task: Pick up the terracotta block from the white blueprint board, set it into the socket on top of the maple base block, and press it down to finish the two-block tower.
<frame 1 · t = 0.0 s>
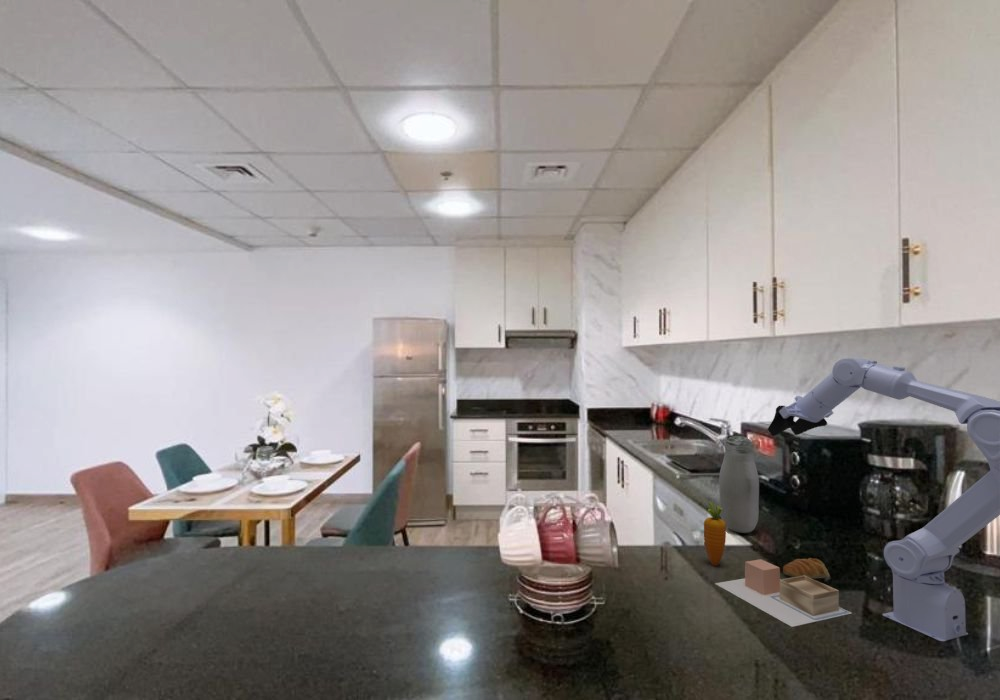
hand: (782, 431, 114), 32 cm above the counter, tool tilted 50°, fingers open, 7 cm apart
glass bottle: (739, 532, 137), on the counter
carrot: (714, 567, 111), on the counter
blueprint board: (779, 600, 95), on the counter
pastry: (806, 577, 107), on the counter
maple base block: (808, 604, 92), point 1 cm above the counter, touching blueprint board
terracotta block: (762, 588, 99), point 1 cm above the counter, touching blueprint board
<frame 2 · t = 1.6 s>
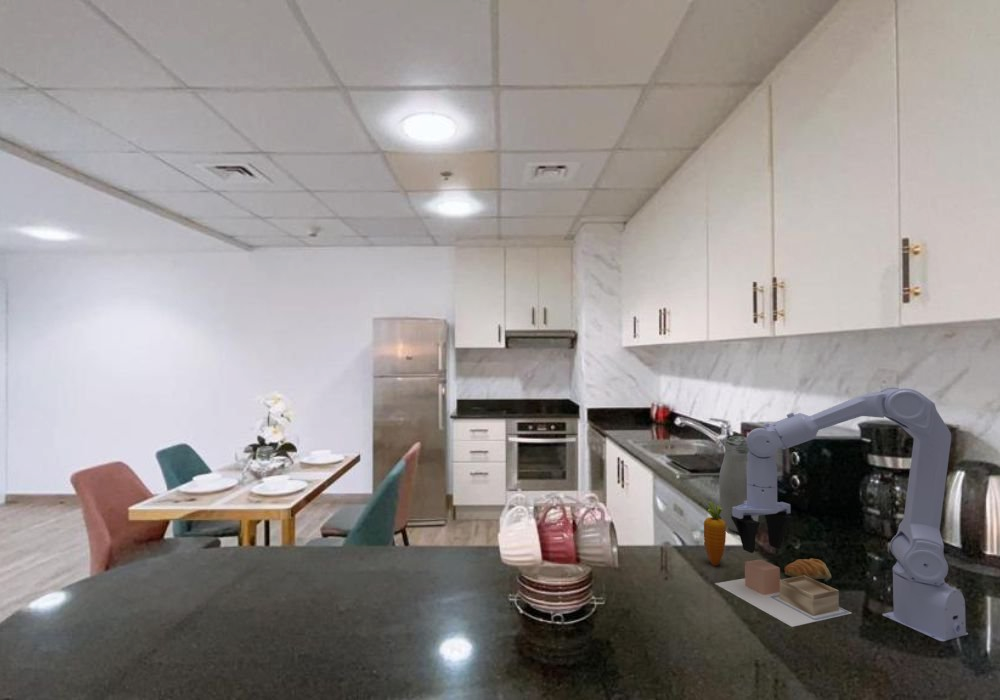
hand: (761, 549, 99), 9 cm above the counter, tool pointing down, fingers open, 7 cm apart
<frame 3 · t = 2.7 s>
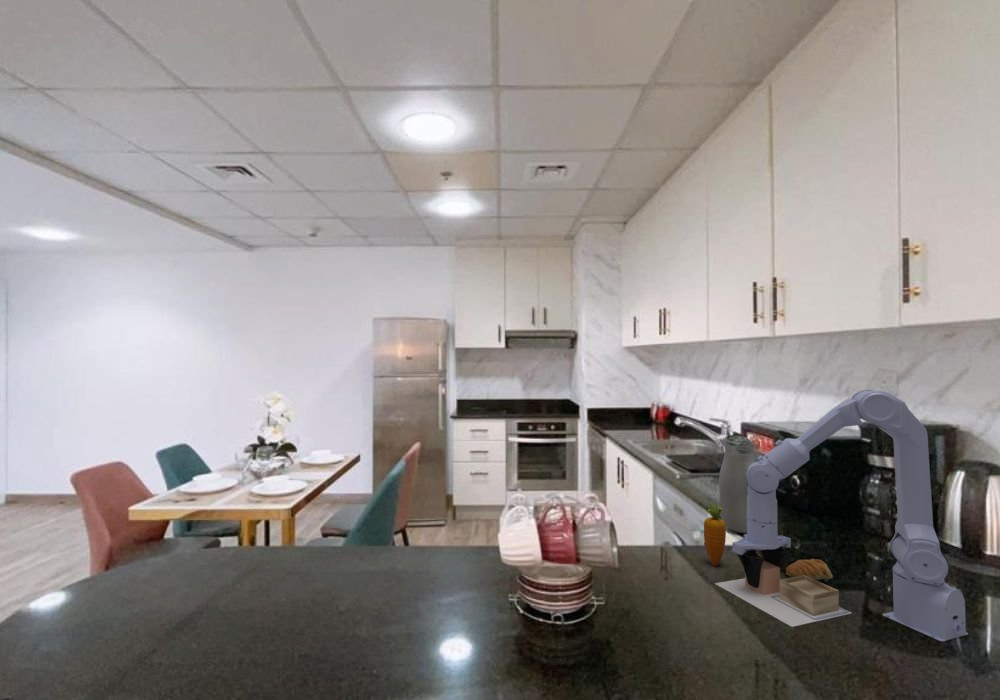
hand: (762, 584, 99), 2 cm above the counter, tool pointing down, fingers closed on terracotta block, 5 cm apart
terracotta block: (762, 588, 99), point 1 cm above the counter, touching blueprint board, gripper
everything else where it was.
when the fingers open (6 cm above the counter, at t = 5.7 s): terracotta block drops 1 cm, resting on maple base block.
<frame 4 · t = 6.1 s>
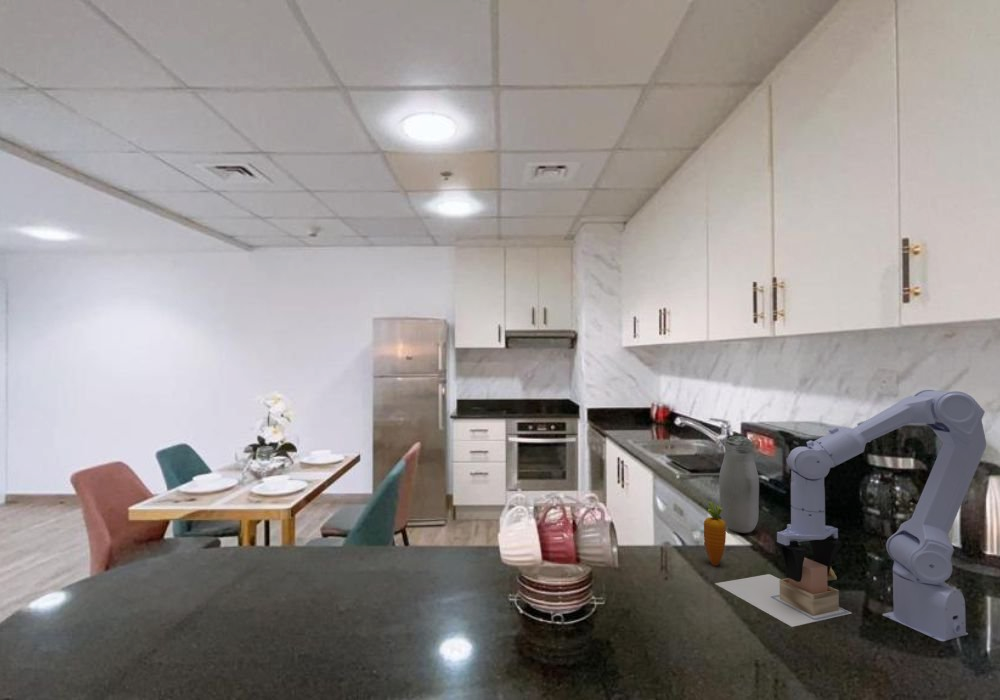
hand: (808, 577, 93), 6 cm above the counter, tool pointing down, fingers open, 7 cm apart
maple base block: (808, 604, 92), point 1 cm above the counter, touching blueprint board, terracotta block
terracotta block: (807, 588, 93), point 4 cm above the counter, touching maple base block
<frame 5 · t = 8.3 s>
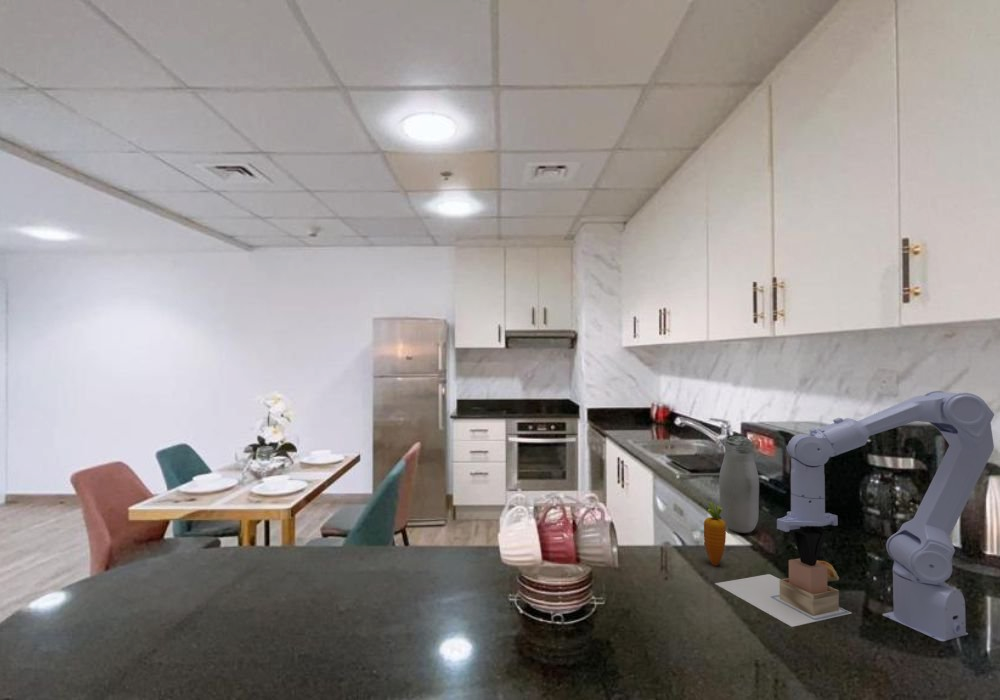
hand: (808, 564, 93), 8 cm above the counter, tool pointing down, fingers closed, pressing on terracotta block
terracotta block: (807, 588, 93), point 4 cm above the counter, touching gripper, maple base block
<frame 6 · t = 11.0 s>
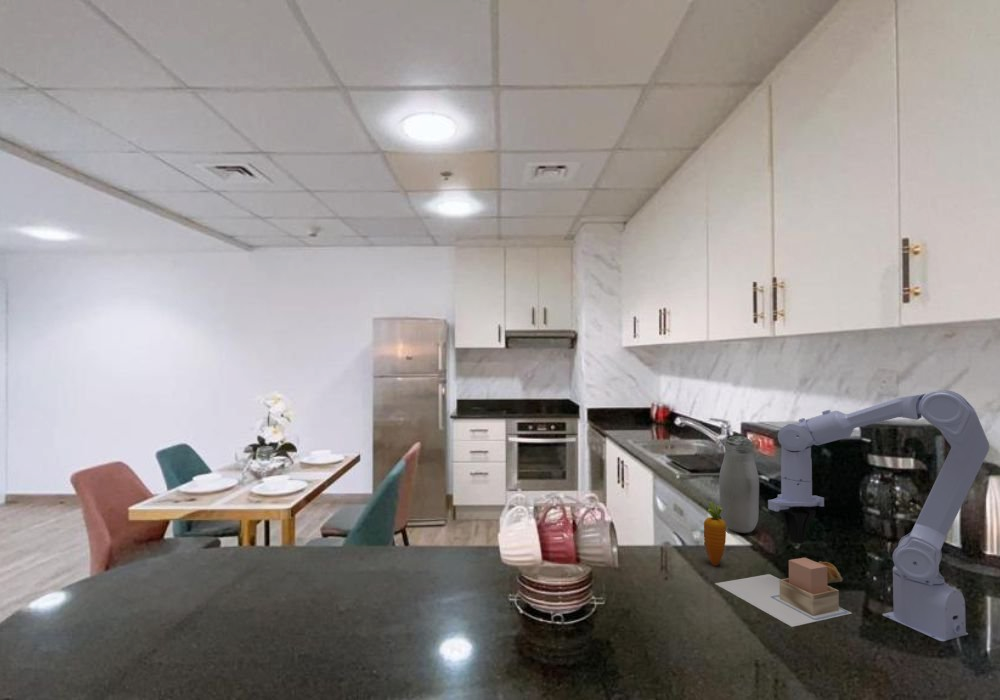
hand: (796, 541, 101), 10 cm above the counter, tool pointing down, fingers closed
terracotta block: (807, 588, 93), point 4 cm above the counter, touching maple base block
at the end: terracotta block 0.1 cm off-centre on the maple base block, point 3.0 cm above the maple base block's base; terracotta block tilted 0°; maple base block moved 0.0 cm from its start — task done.
